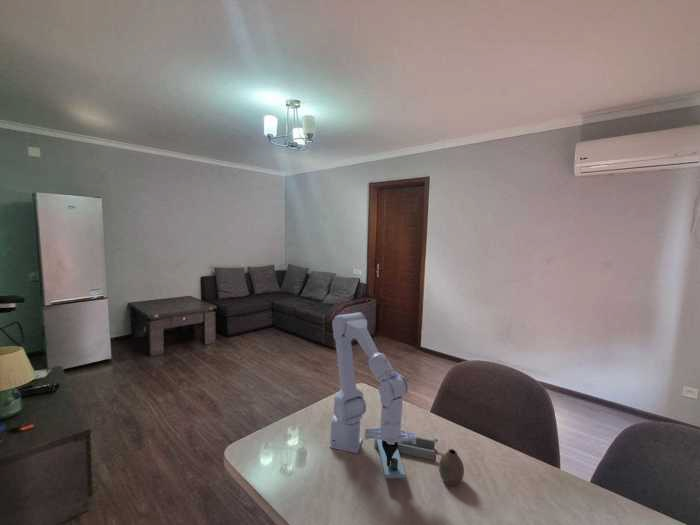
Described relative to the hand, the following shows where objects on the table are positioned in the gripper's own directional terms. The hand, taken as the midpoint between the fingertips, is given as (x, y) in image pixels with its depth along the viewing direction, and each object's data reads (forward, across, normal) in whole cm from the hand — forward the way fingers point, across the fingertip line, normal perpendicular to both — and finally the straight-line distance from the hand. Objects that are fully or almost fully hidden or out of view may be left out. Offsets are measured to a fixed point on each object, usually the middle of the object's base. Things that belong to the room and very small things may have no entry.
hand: (388, 463), depth 91 cm
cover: (+2, 0, +6) cm, 6 cm away
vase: (+5, +18, +2) cm, 19 cm away
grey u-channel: (+5, +7, +15) cm, 17 cm away
